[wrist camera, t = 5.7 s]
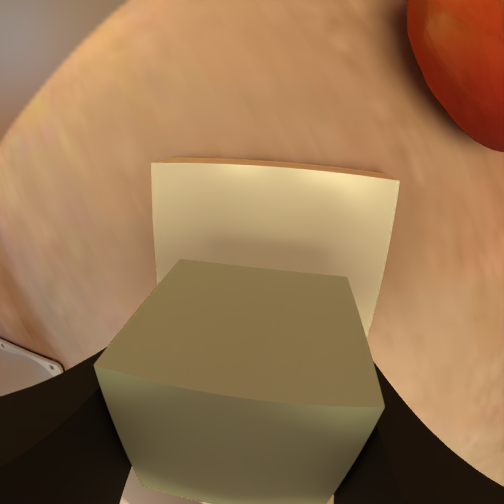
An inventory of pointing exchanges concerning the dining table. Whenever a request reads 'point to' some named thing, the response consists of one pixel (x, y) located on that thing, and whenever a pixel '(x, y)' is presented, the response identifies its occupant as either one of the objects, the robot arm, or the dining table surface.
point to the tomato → (463, 61)
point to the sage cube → (242, 385)
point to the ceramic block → (276, 219)
